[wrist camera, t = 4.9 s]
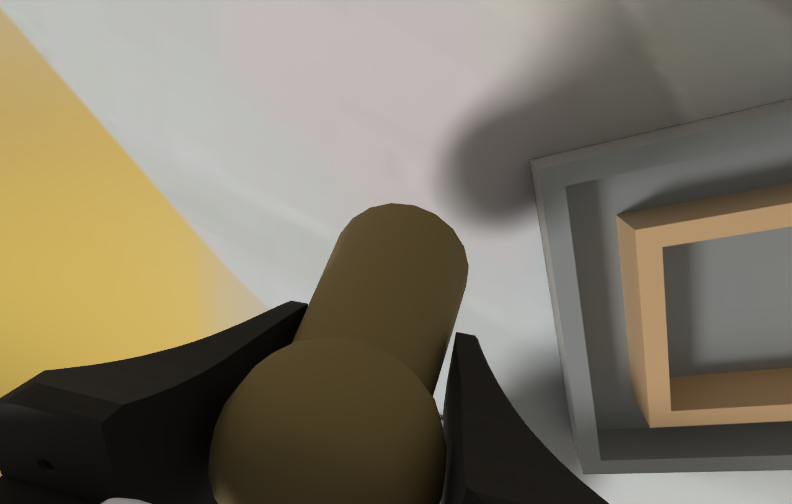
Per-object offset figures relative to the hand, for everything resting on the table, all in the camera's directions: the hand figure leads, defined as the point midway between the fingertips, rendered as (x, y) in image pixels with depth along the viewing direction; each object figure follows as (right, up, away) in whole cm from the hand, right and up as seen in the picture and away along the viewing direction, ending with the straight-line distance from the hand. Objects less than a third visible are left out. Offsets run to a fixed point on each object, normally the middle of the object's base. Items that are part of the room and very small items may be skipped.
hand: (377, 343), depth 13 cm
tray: (+18, +1, +7) cm, 20 cm away
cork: (+1, +2, +4) cm, 5 cm away
